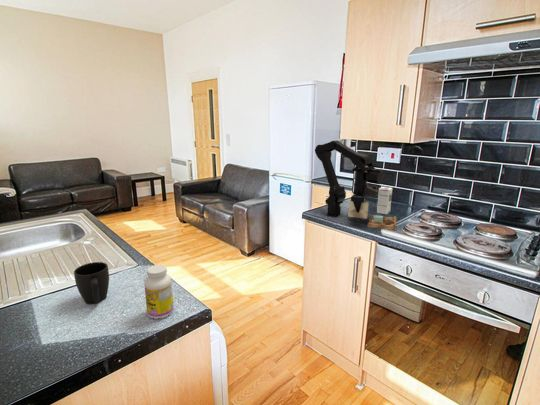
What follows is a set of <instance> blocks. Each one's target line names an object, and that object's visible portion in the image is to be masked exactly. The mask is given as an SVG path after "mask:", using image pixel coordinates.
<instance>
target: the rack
mask: <svg viewBox="0 0 540 405" xmlns="http://www.w3.org/2000/svg"><path fill="white" fill-rule="evenodd" d="M373 218H374V214H373V215H372V214H370V216H369V220H368V222H367V228H371V229H372V228H373V229H381V230H387V229H388V230H387V231H396V230H397V229H396V228H397V216H395V215H394V216H393V217H388V216H383V224H375V223H371V222H372V219H373ZM385 218H391V219H392V225H385Z"/></svg>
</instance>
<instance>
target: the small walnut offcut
mask: <svg viewBox="0 0 540 405" xmlns="http://www.w3.org/2000/svg"><path fill="white" fill-rule="evenodd" d="M391 218H392V217H391ZM391 218H385V225H392V219H391Z"/></svg>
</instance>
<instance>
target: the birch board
mask: <svg viewBox="0 0 540 405" xmlns="http://www.w3.org/2000/svg"><path fill="white" fill-rule="evenodd" d="M369 203H370V202H369V201H365V202H363V203H362V204H361V207H360V211H359V213H358V212H356V209H355V206H354V203H353V201H351V199H350V200H349V203H348V204H349V206H348V217H350V218H358V219H365V220H366V219H368V216H369V215H368V213H369Z"/></svg>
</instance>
